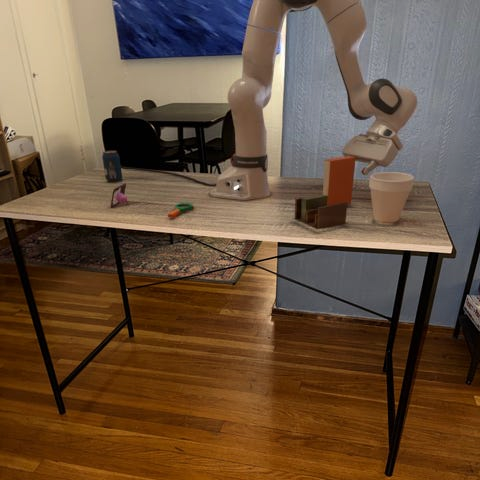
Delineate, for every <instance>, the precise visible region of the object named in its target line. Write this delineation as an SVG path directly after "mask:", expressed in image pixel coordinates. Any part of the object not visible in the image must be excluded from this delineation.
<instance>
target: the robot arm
mask: <svg viewBox="0 0 480 480" xmlns="http://www.w3.org/2000/svg"><path fill="white" fill-rule="evenodd" d="M312 7H315V8H317V10H319V12H320V14H321V16H322V18H323V20H324V23H325V25H326V28H327V30H328V33H329V36H330V39H331V42H332V46H333V50H334V55H335V60H336V63H337V66H338V69H339V72H340V75H341V79H342V82H343V85H344V88H345V91H346V95H347V108H348V111H349V113H350V115H351V117H353V118H354V119H355V120H358V121H366V120H369V119H371V118H372V117H375V119H374V121H373V123H372V124H371V125H370V126H369V128H368V130H367V131H366V132H365V134H364V133H359V134H358V135H355V136H353V137H352V138H351V139H350V140H349V141H348V142H347V143H346V144H345V146H343V148H342V150H341V153H342V155H343V157H347V156H351V157H356V159H355V162H360V163H365V164H367V166H366V167H365V166H364V167H363V169H362V170H361V172H360V173H361V174H362V175H363V176H368V175H369V173H370V172H372V171H374V170H375V169H377V167H382V168H387V167H388V166H390V165H391V164H392V162H394V160H395V159H396V157H397V156H398V154H399V151H401V150H402V149H403V147H404V145H403V143H402V141H401V139H400V137H399V133H400V131H401V130H402V129H404V128H405V127H406V125H407V124H408V123H409V121H410V120H411V118H412V117H413V115H414V113H415V112H416V110H417V107H418V98H417V96H416V93H414V91H413V90H411V89H410V88H407V87H400V86H397V85H395V84H394V83H393V82H392V81H391V80H389V79H387V78H378V79H375V80H373V81H371V82H369V83H368V84H367V83H366V81H365V78H364V75H363V72H362V69H361V65H360V61H359V58H358V52H359V49H360V48H359V47H360V44H361V42H362V40H363V38H364V36H365V33H366V30H367V26H368V25H367V24H368V23H367V18H366V13H365V10H364V7H363V4H362V2H361V0H253V1H252V4H251V8H250V11H249V15H248V18H247V24H246V29H245V33H244V40H243V43H242V44H243V45H242V51H241V56H242V72H241V77H240V78H238V79H236V80H235V81H234V82H233V83H232V84H231V86H230V87H229V89H228V91H227V102H228V105H229V107H230V111H231V116H232V123H233V127H234V134H235V136H234V137H235V138H234V139H235V140H234V141H235V142H234V143H235V153H234V154H233V155H232V156H231V157H230V158H229V163H230V166H228V168H227V169H225V170H224V171H223V172H222V173H221V174H220V175H219V176H218V177H217V179H216V183H213V184H212V183H207V182H204V181H201V180H197V179H195V178H193V177H190V176H187V175H183V174H180V173H176V172H170V171H163V170H157V169H147V168H138V167H131V166H130V167H129V166H124V165H123V166H122V165H121V169H126V170H127V169H128V170H134V171H135V170H136V171H143V172H145V171H146V172H151V173H152V172H153V173H161V174H168V175H173V176H177V177H181V178H185V179H188V180H191V181H193V182H196V183H198V184H201V185H205V186H208V187H215V188H213V189H212V190H210V197H213V198H221V199H231V200H236V201H238V200H239V201H250V200H255V199H262V198H266V197H269V196H270V195H271V194H272V193H271V189H270V186H269V180H268V170H269V157H268V156H269V155H268V154H267V128H266V125H265V117H264V108H266V107H267V106H268V104H269V103H270V101H271V98H272V89H273V82H274V72H275V64H276V58H277V53H278V49H279V44H280V39H281V35H282V31H283V26H284V22H285V19H286V16H287V15H288V14H289V13H295V12H304V11H307V10H310V9H311V8H312Z"/></svg>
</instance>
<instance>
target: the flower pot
mask: <svg viewBox="0 0 480 480" xmlns="http://www.w3.org/2000/svg"><path fill="white" fill-rule="evenodd" d="M369 177H370V178H369V184H368V187H369V190H370V199H371V207H372V208H371V209H372V216H373V219H374V221H377V222H379V223H380V222H381V223H395V222H398V221H399V219H400V217H401V215H402V213H403V210H404V208H405V205H406V202H407V200H408V198H409V195H410V192H411V190H412V189H413V188H414V187H413V185H414V180H415V176H413V175H412V174H409V173H404V172H397V171H380V172H374V173H372V174H370V176H369Z"/></svg>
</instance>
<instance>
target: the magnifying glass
mask: <svg viewBox="0 0 480 480" xmlns="http://www.w3.org/2000/svg"><path fill="white" fill-rule="evenodd" d="M193 209H194V204H193V203H192V202H179V203H177V204H175V205H174V210H172V211H171V212H169V213H167V218H169V219H173V218H175V217H176V216H178V215H179V214H182V213H185V212H188V211H191V210H193Z"/></svg>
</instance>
